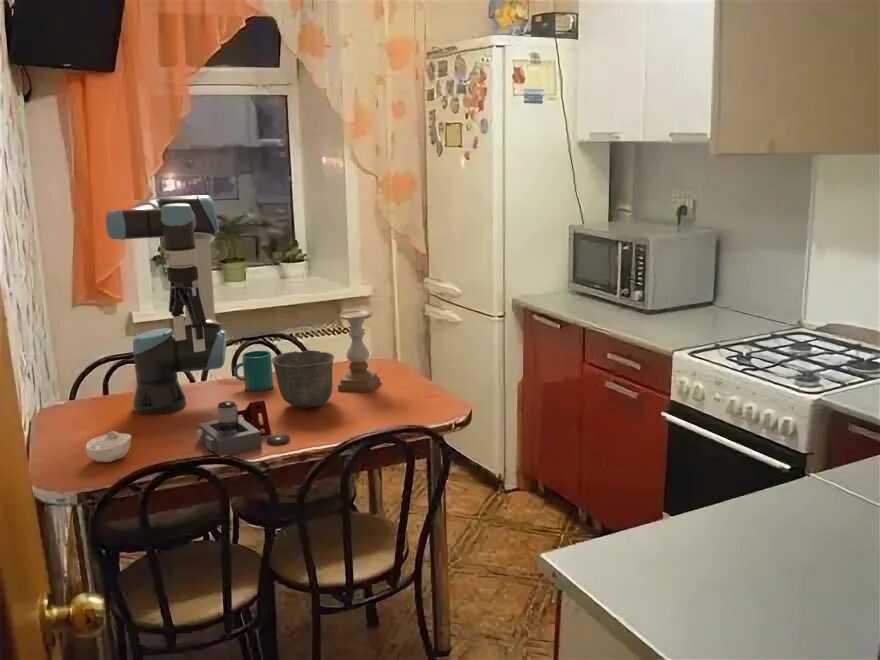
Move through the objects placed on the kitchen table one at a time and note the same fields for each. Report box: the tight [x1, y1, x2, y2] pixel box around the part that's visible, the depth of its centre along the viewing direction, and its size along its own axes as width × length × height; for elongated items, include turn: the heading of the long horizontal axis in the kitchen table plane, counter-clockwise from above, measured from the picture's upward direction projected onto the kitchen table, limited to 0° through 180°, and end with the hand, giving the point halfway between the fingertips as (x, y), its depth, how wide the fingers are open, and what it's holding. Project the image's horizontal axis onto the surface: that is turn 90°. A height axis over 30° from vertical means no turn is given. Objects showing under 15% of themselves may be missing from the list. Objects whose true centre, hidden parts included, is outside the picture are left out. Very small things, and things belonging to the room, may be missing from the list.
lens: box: [216, 400, 239, 436], centre depth 218 cm, size 5×5×9 cm
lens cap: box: [266, 433, 291, 446], centre depth 221 cm, size 6×6×1 cm
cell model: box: [85, 430, 132, 463], centre depth 211 cm, size 10×12×7 cm
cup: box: [233, 350, 274, 392], centre depth 266 cm, size 9×12×11 cm
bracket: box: [237, 400, 272, 438], centre depth 231 cm, size 10×14×10 cm
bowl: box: [271, 349, 335, 409], centre depth 247 cm, size 18×18×15 cm
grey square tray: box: [197, 415, 263, 457], centre depth 219 cm, size 16×12×4 cm
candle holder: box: [337, 310, 381, 393], centre depth 264 cm, size 11×11×24 cm
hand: (190, 345), depth 218 cm, fingers open, 13 cm apart
